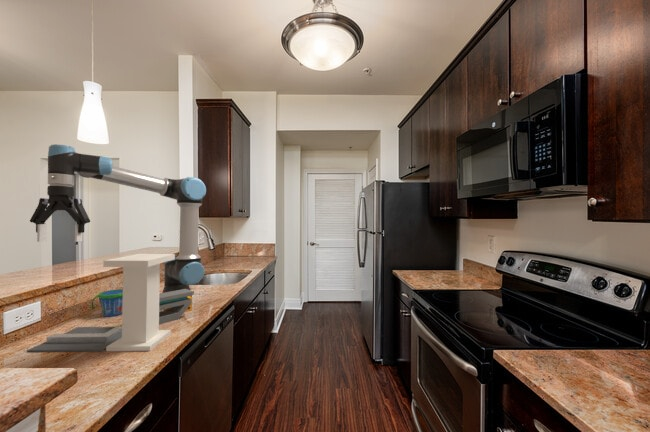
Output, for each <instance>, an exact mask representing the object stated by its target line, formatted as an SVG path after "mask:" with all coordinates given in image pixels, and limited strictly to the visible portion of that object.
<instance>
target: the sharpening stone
mask: <svg viewBox="0 0 650 432" xmlns="http://www.w3.org/2000/svg"><path fill="white" fill-rule="evenodd" d="M191 295H192V296H194V295H195V291H193V290H191V289H190V290H188V289H181V290H176V291H171V292H165V293H162V292H159V326H160V325H163V324H167V323H171V322H174V321H178V320H179V319H180V318H181V317H182V316H183V315H184V314H185V313H186V312H185V311H186V310H187V309H188V307H189V306H190V305H191V299H189V298H187V296H191ZM171 307H172V308H171ZM167 308H171V309H170V310H166V311H163V309H167Z"/></svg>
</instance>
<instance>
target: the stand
mask: <svg viewBox="0 0 650 432" xmlns="http://www.w3.org/2000/svg"><path fill="white" fill-rule="evenodd" d="M175 257H176V254H175V253H135V254H130V255H125V256H121V257H115V258H110V259H105V260H103V264H102V265H103V266H102V267H103V268H122V289H123V307H122V314H121V315H122V316H121V318H122V319H121V326H122V337H121V338H120V339H118V340H117V341H115V342H113V343H112V344H110V345H108V346H107V347H106V350H105V351H106V352H151V351H152V350H153V349H154V348H155V347H157V346H158V345H159V344H160V343H162V342H163V341H165V339H167V338H168V337H169V336H171V335H172V329H160V325H159V312H160V310H159V294H160V285H161V284H160V283H161V282H160V280H161V279H160V277H161V276H160V275H161V267H160V266H161V264H163V263H165V262H167V261H170V260H174V259H175Z"/></svg>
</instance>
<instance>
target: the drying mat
mask: <svg viewBox="0 0 650 432" xmlns="http://www.w3.org/2000/svg"><path fill="white" fill-rule="evenodd" d="M115 327H116V326H77V327H75V328H73V329H71V330H69V331H65V332H64V333H63V334H93V333H106V332H108V331H109V330H111V329H113V328H115ZM121 337H122V334H120V335H119V336H117V337H115V338H114V339H112V340H110V341H109V342H107V343H47V340H46V341H44V342H43V343H40V344H38V345H36V346H34V347H31V348H29V349H27V350H26V352H27V353H65V352H66V353H68V352H69V353H70V352H71V353H72V352H73V353H75V352H83V353H84V352H85V353H86V352H88V353H89V352H105V351H106V347H107V346H108V345H110V344H112V343H113V342H115V341H117V340H118V339H120V338H121Z"/></svg>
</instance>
